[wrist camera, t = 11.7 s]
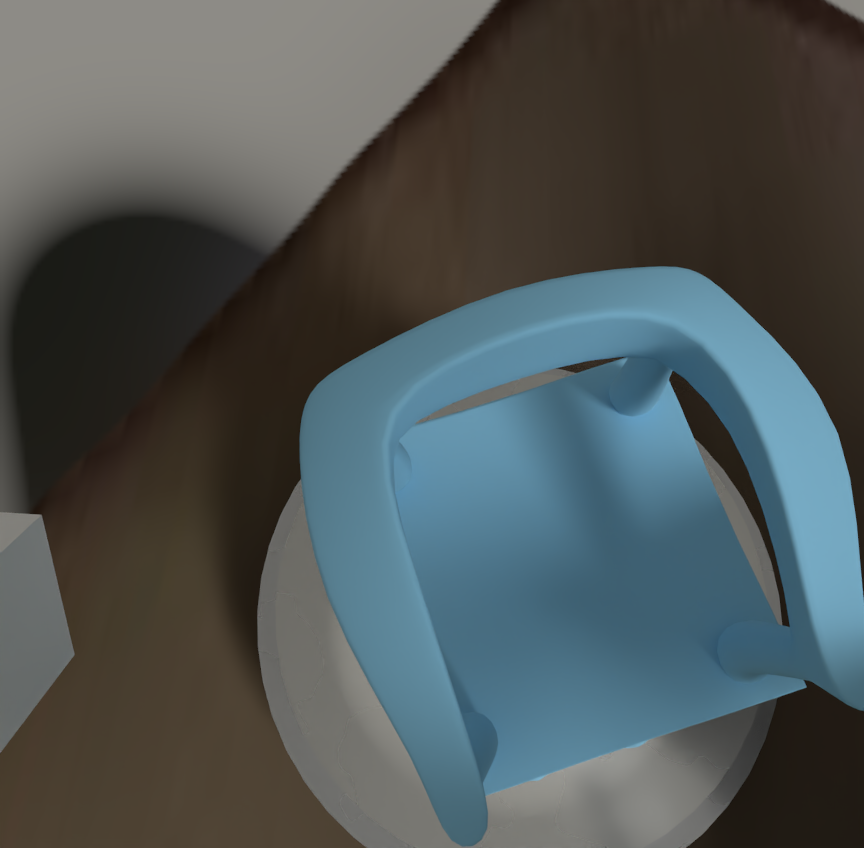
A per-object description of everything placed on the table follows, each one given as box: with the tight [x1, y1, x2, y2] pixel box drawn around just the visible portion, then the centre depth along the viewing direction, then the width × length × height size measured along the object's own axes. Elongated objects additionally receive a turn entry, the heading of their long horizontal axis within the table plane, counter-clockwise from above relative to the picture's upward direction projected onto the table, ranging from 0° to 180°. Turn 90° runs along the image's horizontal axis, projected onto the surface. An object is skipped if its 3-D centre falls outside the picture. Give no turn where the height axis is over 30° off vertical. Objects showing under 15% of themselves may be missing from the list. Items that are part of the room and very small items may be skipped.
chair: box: [300, 266, 864, 847], centre depth 14 cm, size 8×8×12 cm
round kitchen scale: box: [257, 369, 782, 848], centre depth 22 cm, size 15×15×5 cm
